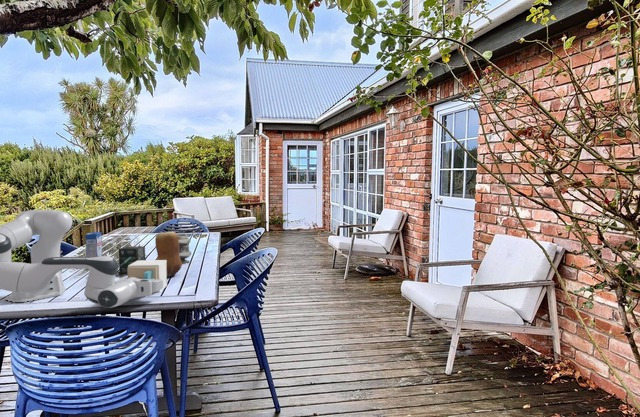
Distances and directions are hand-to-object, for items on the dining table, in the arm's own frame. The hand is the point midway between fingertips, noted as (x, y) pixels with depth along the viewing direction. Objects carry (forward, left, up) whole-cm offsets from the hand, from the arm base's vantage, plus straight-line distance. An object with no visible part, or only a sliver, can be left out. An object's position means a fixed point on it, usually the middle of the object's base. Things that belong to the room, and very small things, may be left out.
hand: (148, 280), depth 178 cm
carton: (+7, +8, -7) cm, 13 cm away
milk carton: (+34, +86, -7) cm, 93 cm away
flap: (-2, +3, -6) cm, 7 cm away
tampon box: (+29, +46, -7) cm, 55 cm away
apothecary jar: (+61, +40, -7) cm, 73 cm away
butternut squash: (+30, +19, -7) cm, 36 cm away
